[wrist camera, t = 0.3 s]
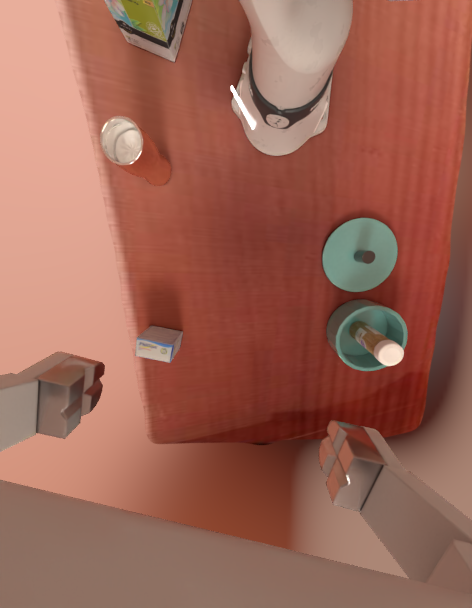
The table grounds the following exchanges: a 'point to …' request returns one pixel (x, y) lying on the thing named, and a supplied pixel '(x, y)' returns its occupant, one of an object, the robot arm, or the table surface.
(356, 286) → the pan lid
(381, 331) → the pan
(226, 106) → the table surface
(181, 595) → the robot arm
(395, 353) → the sprinkles bottle
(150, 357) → the medicine box
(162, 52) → the tea box
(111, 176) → the table surface
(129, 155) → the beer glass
